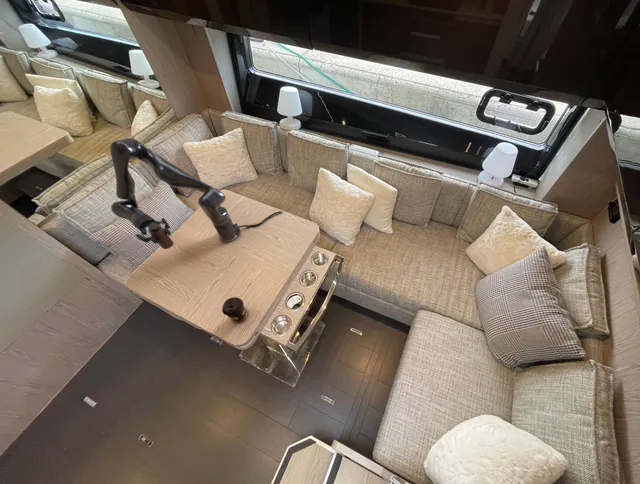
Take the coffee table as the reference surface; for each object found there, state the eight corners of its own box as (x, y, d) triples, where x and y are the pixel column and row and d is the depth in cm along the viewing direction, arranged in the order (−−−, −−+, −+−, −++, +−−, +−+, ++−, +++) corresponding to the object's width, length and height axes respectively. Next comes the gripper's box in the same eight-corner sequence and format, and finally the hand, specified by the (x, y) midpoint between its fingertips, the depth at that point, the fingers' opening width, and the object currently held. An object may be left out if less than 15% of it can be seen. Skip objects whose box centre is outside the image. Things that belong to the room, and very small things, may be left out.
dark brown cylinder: (238, 328, 124) (229, 318, 114) (226, 318, 127) (216, 307, 117) (253, 312, 129) (245, 301, 119) (240, 303, 132) (232, 291, 122)
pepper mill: (171, 238, 136) (157, 220, 126) (175, 245, 134) (160, 226, 123) (160, 244, 134) (144, 225, 124) (163, 250, 132) (148, 232, 121)
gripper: (123, 225, 127) (143, 243, 121) (153, 207, 135) (174, 223, 129) (132, 236, 132) (152, 252, 126) (161, 218, 140) (181, 233, 134)
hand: (163, 237), depth 127 cm, fingers closed on pepper mill, 5 cm apart
